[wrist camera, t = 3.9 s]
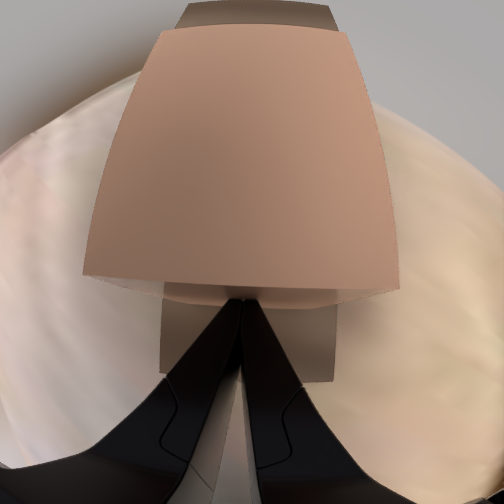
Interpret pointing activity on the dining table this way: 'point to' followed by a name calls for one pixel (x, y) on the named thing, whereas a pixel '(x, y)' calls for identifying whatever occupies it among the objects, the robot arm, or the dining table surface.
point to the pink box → (247, 174)
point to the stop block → (282, 320)
